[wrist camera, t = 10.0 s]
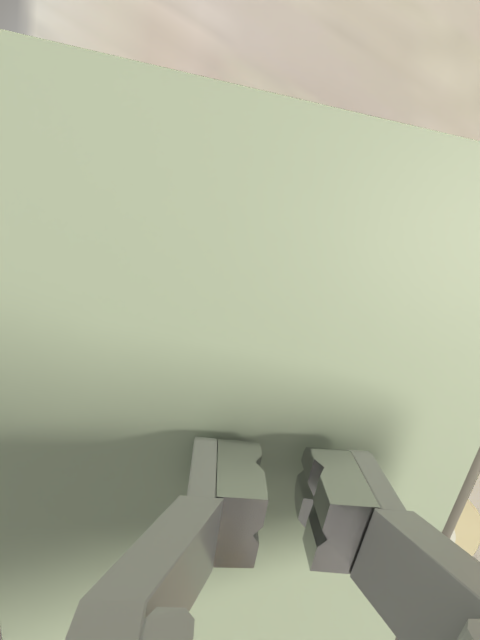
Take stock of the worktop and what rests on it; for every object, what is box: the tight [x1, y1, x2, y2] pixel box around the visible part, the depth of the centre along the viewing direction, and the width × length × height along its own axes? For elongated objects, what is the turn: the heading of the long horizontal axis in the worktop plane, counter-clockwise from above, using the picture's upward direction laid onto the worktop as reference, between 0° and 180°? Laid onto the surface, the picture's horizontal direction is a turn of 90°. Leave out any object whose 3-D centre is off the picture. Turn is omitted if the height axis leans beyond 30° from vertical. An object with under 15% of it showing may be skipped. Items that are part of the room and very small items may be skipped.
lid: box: [0, 29, 480, 640], centre depth 8 cm, size 16×13×1 cm
